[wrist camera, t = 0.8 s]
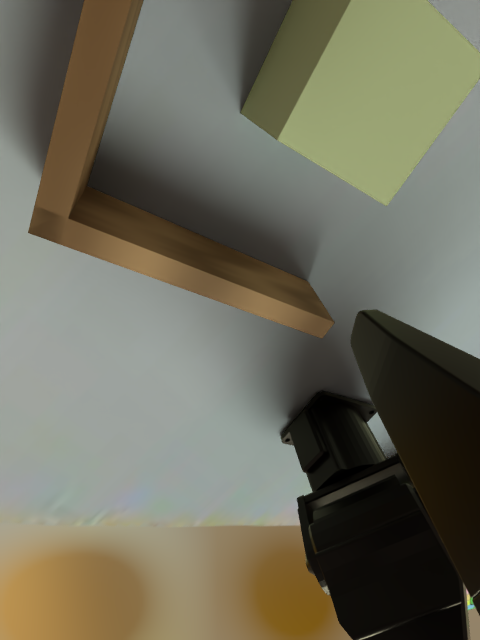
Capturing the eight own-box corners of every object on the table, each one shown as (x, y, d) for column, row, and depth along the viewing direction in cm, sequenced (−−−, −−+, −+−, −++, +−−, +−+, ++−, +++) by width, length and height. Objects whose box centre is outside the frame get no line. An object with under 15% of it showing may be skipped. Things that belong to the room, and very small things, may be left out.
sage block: (382, 60, 17) (490, 63, 11) (321, 162, 19) (386, 206, 14) (297, -11, 15) (376, -50, 9) (240, 112, 17) (277, 140, 12)
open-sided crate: (561, -86, 15) (687, -131, 11) (298, 296, 24) (322, 338, 20) (251, -542, 9) (311, -943, 5) (54, 197, 18) (28, 232, 14)
